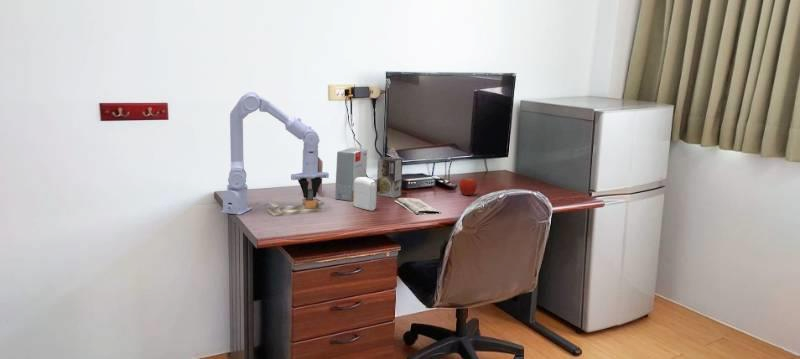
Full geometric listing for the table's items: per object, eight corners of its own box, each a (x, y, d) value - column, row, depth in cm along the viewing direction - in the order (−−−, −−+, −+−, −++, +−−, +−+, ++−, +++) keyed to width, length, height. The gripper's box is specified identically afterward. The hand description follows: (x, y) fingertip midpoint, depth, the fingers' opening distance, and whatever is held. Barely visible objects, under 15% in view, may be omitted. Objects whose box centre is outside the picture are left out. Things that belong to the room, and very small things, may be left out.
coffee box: (401, 195, 274) (403, 158, 271) (393, 198, 269) (395, 160, 265) (383, 192, 278) (385, 156, 275) (375, 194, 273) (377, 157, 270)
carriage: (306, 208, 239) (307, 191, 237) (302, 206, 242) (302, 188, 241) (316, 207, 241) (316, 190, 240) (311, 205, 245) (312, 187, 243)
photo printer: (351, 206, 251) (352, 175, 249) (359, 204, 254) (360, 174, 252) (369, 211, 244) (370, 180, 242) (377, 210, 248) (378, 179, 245)
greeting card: (315, 190, 275) (316, 156, 272) (331, 192, 273) (332, 158, 270) (303, 196, 264) (304, 160, 261) (319, 198, 262) (320, 162, 259)
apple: (472, 192, 286) (473, 176, 285) (479, 197, 279) (480, 179, 277) (456, 193, 284) (457, 176, 283) (462, 197, 277) (463, 179, 275)
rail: (273, 216, 231) (273, 206, 230) (267, 211, 237) (267, 202, 236) (324, 211, 241) (324, 202, 241) (316, 207, 247) (316, 198, 247)
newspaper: (392, 202, 263) (393, 196, 262) (419, 204, 267) (420, 198, 267) (412, 216, 242) (413, 210, 242) (441, 218, 247) (442, 212, 246)
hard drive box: (351, 201, 259) (353, 153, 255) (334, 199, 261) (335, 151, 257) (365, 194, 273) (367, 148, 269) (349, 192, 276) (351, 146, 272)
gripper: (296, 165, 231) (295, 201, 234) (332, 163, 239) (331, 198, 241) (289, 161, 237) (288, 197, 240) (324, 159, 244) (323, 194, 247)
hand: (309, 197), depth 241 cm, fingers closed on carriage, 3 cm apart
